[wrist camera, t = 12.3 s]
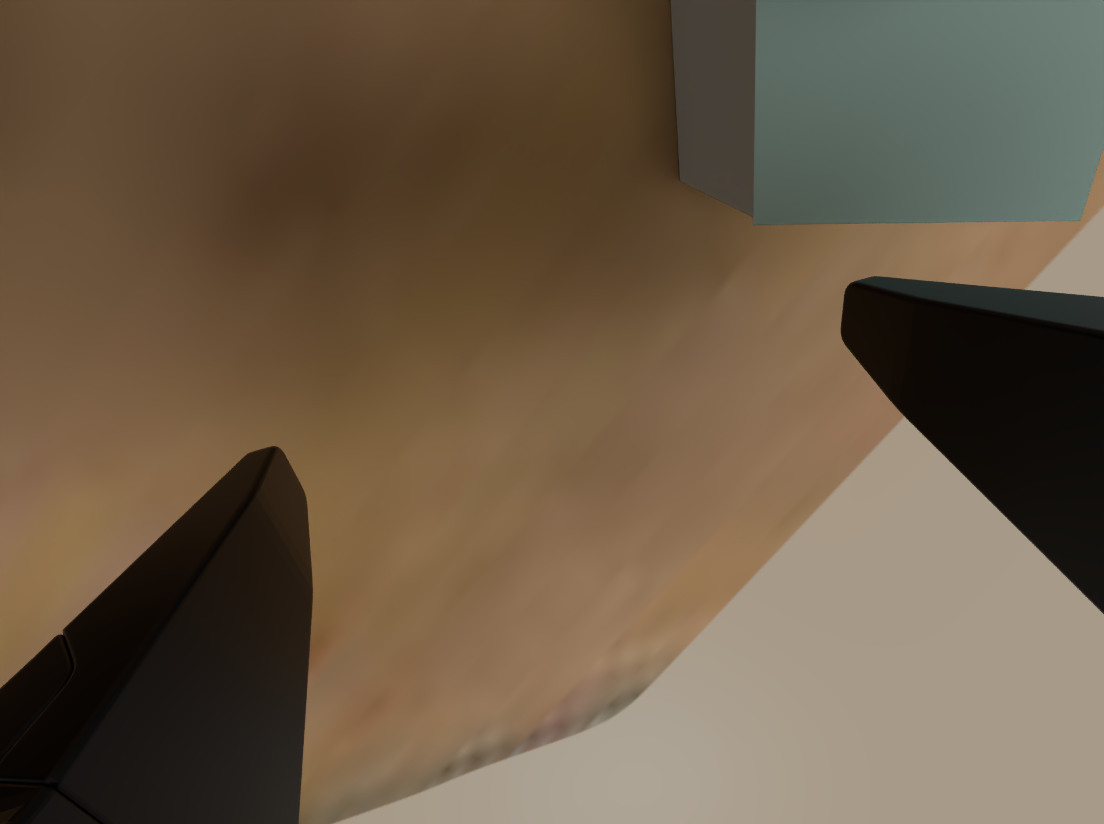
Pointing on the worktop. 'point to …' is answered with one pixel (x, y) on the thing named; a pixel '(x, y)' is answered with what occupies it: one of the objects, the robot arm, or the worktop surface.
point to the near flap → (926, 110)
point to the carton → (716, 97)
